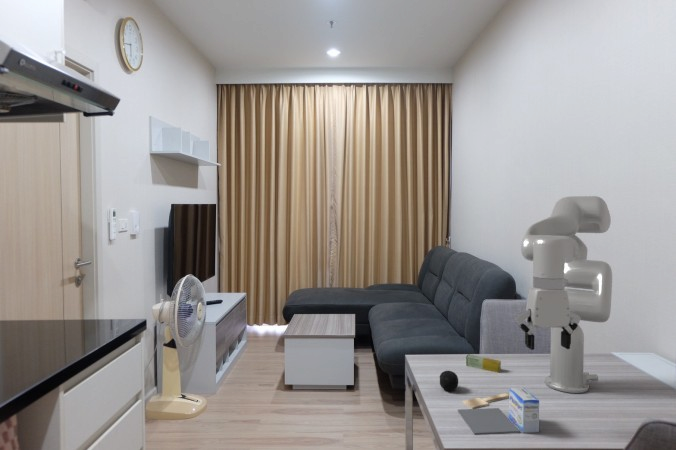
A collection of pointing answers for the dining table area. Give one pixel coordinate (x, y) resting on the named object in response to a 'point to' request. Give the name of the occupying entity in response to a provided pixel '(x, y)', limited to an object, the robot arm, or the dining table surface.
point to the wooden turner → (484, 400)
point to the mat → (488, 421)
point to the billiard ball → (448, 380)
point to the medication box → (483, 363)
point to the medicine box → (524, 410)
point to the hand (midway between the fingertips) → (547, 347)
